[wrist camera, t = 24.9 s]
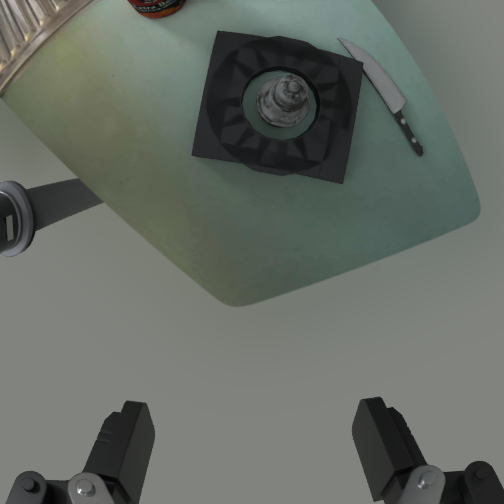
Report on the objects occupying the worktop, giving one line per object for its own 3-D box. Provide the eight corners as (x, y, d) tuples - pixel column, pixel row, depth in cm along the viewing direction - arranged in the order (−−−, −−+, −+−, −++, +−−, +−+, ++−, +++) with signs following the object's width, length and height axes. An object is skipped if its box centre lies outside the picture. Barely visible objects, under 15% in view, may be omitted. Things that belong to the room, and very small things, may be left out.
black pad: (193, 160, 36) (190, 160, 34) (219, 32, 31) (218, 26, 29) (337, 186, 38) (341, 188, 36) (359, 62, 33) (364, 58, 31)
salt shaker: (256, 129, 35) (261, 117, 24) (255, 83, 33) (259, 53, 22) (304, 130, 35) (331, 119, 24) (303, 84, 34) (328, 56, 22)
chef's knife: (353, 30, 31) (337, 37, 31) (356, 26, 30) (339, 34, 30) (430, 147, 36) (417, 158, 36) (435, 147, 35) (421, 158, 35)
